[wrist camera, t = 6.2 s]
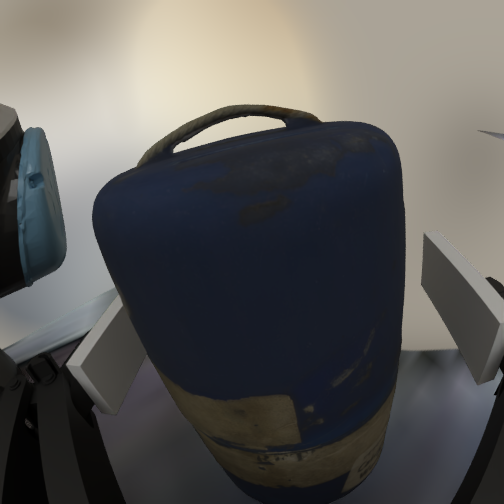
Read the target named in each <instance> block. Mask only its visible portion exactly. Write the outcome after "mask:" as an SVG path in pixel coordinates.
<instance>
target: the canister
mask: <svg viewBox="0 0 504 504" xmlns="http://www.w3.org/2000/svg"><path fill="white" fill-rule="evenodd" d="M247 116H265V117H270V118H275V119H280V120H282V121H283V122H284V123H285V124H286V127H282V128H276V129H270V130H265V131H260V132H255V133H250V134H244V135H240V136H235V137H231V138H226V139H223V140H220V141H216V142H212V143H208V144H205V145H201V146H198V147H194V148H190V149H187V150H183V151H180V152H177V153H173V149H174V148H175V147H176V145H178V144H179V143H181V142H185V141H187V140H189V139H190V138H192V137H193V136H195V135H197V134H198V133H200V132H201V131H203V130H204V129H206V128H208V127H210V126H212V125H215V124H218V123H220V122H223V121H226V120H229V119H233V118H239V117H247ZM92 222H93V229H94V233H95V236H96V239H97V242H98V245H99V248H100V250H101V253H102V256H103V258H104V261H105V263H106V266H107V269H108V271H109V273H110V275H111V278H112V280H113V282H114V284H115V287H116V289H117V291H118V293H119V296H120V298H121V301H122V304H123V306H124V308H125V311H126V313H127V314H128V316H129V318H130V320H131V322H132V324H133V326H134V328H135V330H136V332H137V334H138V336H139V338H140V340H141V342H142V344H143V346H144V348H145V350H146V352H147V354H148V356H149V358H150V360H151V362H152V363H153V365H154V367H155V368H156V370H157V372H158V374H159V375H160V377H161V379H162V381H163V382H164V384H165V386H166V388H167V389H168V391H169V393H170V394H171V396H172V398H173V400H174V401H175V403H176V405H177V406H178V408H179V409H180V411H181V412H182V414H183V415H184V416H185V418H186V419H187V420H188V421H189V422H190V423H191V424H192V425H193V427H194V429H195V430H196V432H197V433H198V435H199V436H200V438H201V439H202V441H203V442H204V444H205V445H206V446H207V448H208V449H209V451H210V452H211V453H212V455H213V456H214V458H215V459H216V461H217V462H218V463H219V464H220V466H221V467H222V468H223V470H224V471H225V472H226V474H227V475H228V476H229V477H230V479H231V480H232V481H233V482H234V483H235V485H236V486H237V487H239V488H240V489H241V490H242V491H243V492H244V493H246V494H247V495H248V496H250V497H252V498H254V499H256V500H258V501H260V502H262V503H265V504H328V503H330V502H333V501H335V500H337V499H339V498H341V497H343V496H345V495H347V494H348V493H350V492H351V491H352V490H354V489H355V488H356V487H357V486H359V485H360V484H361V483H362V482H363V481H364V480H365V479H366V478H367V476H368V475H369V474H370V473H371V471H372V470H373V468H374V467H375V465H376V463H377V461H378V459H379V457H380V454H381V451H382V447H383V443H384V438H385V433H386V428H387V425H388V421H389V417H390V411H391V407H392V402H393V397H394V393H395V389H396V381H397V373H398V365H399V356H400V352H401V343H402V318H403V305H404V289H405V256H406V254H405V252H406V251H405V250H406V249H405V248H406V241H405V240H406V238H405V208H404V201H403V181H402V168H401V161H400V157H399V153H398V150H397V148H396V145H395V144H394V143H393V140H392V139H391V138H390V137H389V135H387V134H386V133H385V132H384V131H383V130H381V129H379V128H377V127H376V126H373V125H371V124H367V123H362V122H353V121H337V122H321V121H320V120H319V119H318V118H317V117H316V116H314V115H313V114H311V113H307V112H303V111H299V110H293V109H288V108H282V107H276V106H269V105H233V106H227V107H223V108H220V109H217V110H215V111H213V112H210V113H208V114H206V115H204V116H201V117H199V118H197V119H195V120H192V121H190V122H188V123H186V124H184V125H182V126H181V127H179V128H178V129H176V130H175V131H173V132H171V133H170V134H168V135H167V136H165V137H164V138H163V139H161V140H160V141H158V142H157V143H155V144H154V145H153V146H152V147H151V148H150V149H149V150H147V151H146V152H145V154H144V155H143V157H142V158H141V160H140V161H139V162H138V165H137V167H135V168H132V169H130V170H128V171H126V172H124V173H121V174H119V175H117V176H116V177H114V178H113V179H111V180H110V181H109V182H108V183H107V184H106V185H105V186H104V187H103V188H102V189H101V190H100V191H99V193H98V194H97V196H96V199H95V201H94V205H93V213H92Z"/></svg>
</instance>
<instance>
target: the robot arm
mask: <svg viewBox="0 0 504 504" xmlns="http://www.w3.org/2000/svg"><path fill="white" fill-rule="evenodd" d="M423 242H424V243H423V264H422V279H421V285H422V287H423V288H424V290H425V292H426V293H427V295H428V296H429V298H430V300H431V301H432V303H433V305H434V306H435V308H436V310H437V311H438V313H439V314H440V316H441V318H442V320H443V321H444V323H445V325H446V326H447V328H448V330H449V332H450V334H451V335H452V337H453V339H454V341H455V343H456V345H457V346H458V348H459V350H460V352H461V354H462V356H463V358H464V360H465V362H466V364H467V365H468V367H469V369H470V371H471V373H472V375H473V378H474V380H475V382H476V384H477V385H480V384H482V383H485V382H488V381H491V380H493V379H494V378H495V376H496V374H497V372H498V369H499V367H500V369H501V371H502V373H503V374H504V286H503V285H502V284H501V283H500V282H498V281H497V280H495V279H493V278H491V277H488V278H484V277H483V276H482V275H481V273H480V272H478V270H477V269H476V268H475V267H474V266H473V265H472V264H471V263H470V262H469V261H468V260H467V259H466V258H465V257H464V256H463V255H462V254H461V253H460V252H459V251H458V250H457V249H456V248H455V247H454V246H453V245H452V244H451V243H450V242H449V241H448V240H447V239H446V238H445V237H444V236H443V235H442V234H441V233H440V232H439V231H431V232H424V240H423ZM66 247H67V245H66V233H65V226H64V220H63V214H62V208H61V202H60V197H59V192H58V186H57V181H56V176H55V171H54V166H53V161H52V156H51V152H50V148H49V144H48V141H47V139H46V136H45V132H44V130H43V129H42V128H39V127H37V128H32V127H30V128H28V129H27V130H26V131H25V132H24V131H23V130H22V128H21V125H20V122H19V119H18V116H17V113H16V111H15V109H13V108H11V107H8V106H6V105H3V104H0V298H2V297H5V296H7V295H9V294H11V293H13V292H16V291H18V290H20V289H22V288H25V287H30V286H32V285H33V282H35V281H37V280H38V279H40V278H42V277H44V276H46V275H48V274H50V273H52V272H54V271H56V270H57V269H58V268H59V267H60V266H61V265H62V263H63V261H64V259H65V256H66V250H67V248H66ZM146 354H147V352H146V350H145V348H144V346H143V344H142V342H141V340H140V338H139V336H138V334H137V332H136V330H135V328H134V326H133V324H132V322H131V320H130V318H129V316H128V314H127V313H126V311H125V308H124V306H123V304H122V301H121V298H120V296H119V294H118V296H117V297H116V298H115V299H114V301H113V302H112V303H111V305H110V306H109V307H108V308H107V310H106V311H105V312H104V314H103V315H102V316H101V317H100V319H99V320H98V321H97V323H96V324H95V325H94V327H93V328H92V329H91V330H89V331H88V332H87V333H86V334H85V335H84V336H83V338H82V339H81V340H80V343H78V344H77V346H76V347H75V349H74V350H73V351H72V353H71V354H70V355H69V357H68V358H67V360H66V361H65V362H64V364H63V365H62V367H61V368H59V366H58V365H57V363H56V362H55V360H54V359H53V357H52V356H51V354H49V353H48V352H43V353H40V354H38V355H36V356H35V357H33V358H32V359H31V360H30V361H29V362H28V364H27V366H26V371H27V372H28V374H29V375H30V376H31V378H32V379H33V380H34V382H35V383H30V382H29V381H28V380H27V378H26V377H25V376H24V375H23V373H22V372H21V370H20V369H19V368H18V366H17V365H16V363H15V362H14V361H13V359H12V358H11V357H10V356H8V355H7V354H6V353H5V352H4V351H3V350H1V349H0V504H126V502H125V500H124V497H123V495H122V492H121V490H120V488H119V485H118V483H117V480H116V477H115V475H114V472H113V469H112V467H111V464H110V461H109V458H108V455H107V452H106V449H105V446H104V443H103V440H102V437H101V433H100V430H99V427H98V423H97V420H96V416H95V414H94V412H93V411H92V410H91V409H92V407H93V405H94V404H95V405H96V406H97V408H98V409H99V410H100V411H101V413H105V414H111V415H117V413H118V411H119V409H120V407H121V405H122V403H123V400H124V398H125V396H126V394H127V392H128V390H129V388H130V386H131V384H132V382H133V380H134V378H135V376H136V374H137V372H138V370H139V368H140V366H141V364H142V362H143V360H144V358H145V356H146ZM494 395H497V396H496V399H495V402H494V406H493V409H492V412H491V415H490V418H489V421H488V423H487V426H486V429H485V432H484V434H483V437H482V439H481V442H480V444H479V447H478V449H477V452H476V454H475V456H474V458H473V461H472V463H471V465H470V467H469V469H468V471H467V474H466V476H465V478H464V480H463V482H462V484H461V486H460V487H459V489H458V491H457V493H456V495H455V497H454V499H453V500H452V502H451V504H504V375H503V377H502V379H501V382H500V384H499V386H498V388H497V390H496V392H495V394H494ZM25 418H27V420H28V421H29V422H30V423H31V424H32V427H31V429H30V428H29V427H28V426H27V425H26V424H25Z"/></svg>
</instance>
